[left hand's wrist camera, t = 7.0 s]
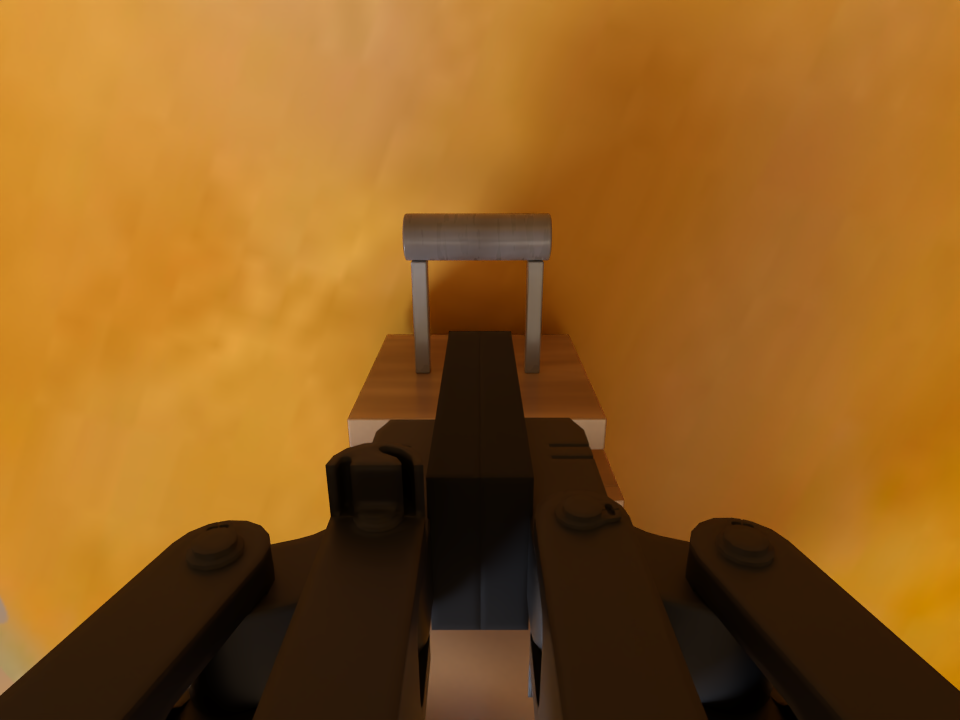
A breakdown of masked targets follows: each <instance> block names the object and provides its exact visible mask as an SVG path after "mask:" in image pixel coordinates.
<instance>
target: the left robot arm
mask: <svg viewBox="0 0 960 720" xmlns="http://www.w3.org/2000/svg"><path fill="white" fill-rule="evenodd" d="M326 475H327V484H328V494H329V503H330V513H331V518H330V520H329V523H328V526H327V528H326V529H325V530H323V531H321V532H318V533H316V534H314V535H310V536H307V537H303V538H300V539H295V540H291V541H286V542H281V543H276V544H270V537H269V534H268V533H267V532H266V531H265V529H264V528H263V527H262V526H260V525H258V524H255V523H252V522H249V521H233V520H228V521H222V522H216V523H212V524H208V525H206V526H203V527H201V528H198V529H196V530H193V531H191V532H189V533H187V534H186V535H184V536H183V537H181V538H180V539H178V540H177V541H175V542H174V543H172V544H171V545H170V546H169V547H168V548H167V549H166V550H164V551H163V552H162V553H161V554H160V555H159V556H158V557H157V558H155V559H154V560H153V561H152V562H151V563H150V564H149V565H147V566H146V567H145V568H144V569H143V570H142V571H141V572H140V573H138V574H137V575H136V576H135V577H134V578H133V579H132V580H131V581H129V582H128V583H127V584H126V585H125V586H124V587H123V588H121V589H120V590H119V591H118V592H117V593H116V594H115V595H114V596H112V597H111V598H110V599H109V600H108V601H107V602H106V603H105V604H103V605H102V606H101V607H100V608H99V609H98V610H97V611H95V612H94V613H93V614H92V615H91V616H90V617H89V618H88V619H86V620H85V621H84V622H83V623H82V624H81V625H80V626H79V627H77V628H76V629H75V630H74V631H73V632H72V633H71V634H69V635H68V636H67V637H66V638H65V639H64V640H63V641H62V642H60V643H59V644H58V645H57V646H56V647H55V648H54V649H53V650H51V651H50V652H49V653H48V654H47V655H46V656H45V657H43V658H42V659H41V660H40V661H39V662H38V663H37V664H36V665H34V666H33V667H32V668H31V669H30V670H29V671H28V672H27V673H25V674H24V675H23V676H22V677H21V678H20V679H19V680H17V681H16V682H15V683H14V684H13V685H12V686H11V687H10V688H8V689H7V690H6V691H5V692H4V693H3V694H2V695H1V696H0V720H425V717H426V706H427V695H428V684H429V673H430V662H431V653H430V625H431V627H432V630H528V627H529V622H530V653H529V679H528V697H533V705H534V716H535V720H960V691H959V690H958V689H957V688H956V687H954V686H953V685H952V684H951V683H950V682H949V681H948V680H946V679H945V678H944V677H943V676H942V675H941V674H940V673H938V672H937V671H936V670H935V669H934V668H933V667H932V666H930V665H929V664H928V663H927V662H926V661H925V660H924V659H923V658H921V657H920V656H919V655H918V654H917V653H916V652H915V651H913V650H912V649H911V648H910V647H909V646H908V645H907V644H905V643H904V642H903V641H902V640H901V639H900V638H899V637H897V636H896V635H895V634H894V633H893V632H892V631H891V630H889V629H888V628H887V627H886V626H885V625H884V624H883V623H881V622H880V621H879V620H878V619H877V618H876V617H875V616H873V615H872V614H871V613H870V612H869V611H868V610H867V609H866V608H864V607H863V606H862V605H861V604H860V603H859V602H858V601H856V600H855V599H854V598H853V597H852V596H851V595H850V594H848V593H847V592H846V591H845V590H844V589H843V588H842V587H840V586H839V585H838V584H837V583H836V582H835V581H834V580H832V579H831V578H830V577H829V576H828V575H827V574H826V573H824V572H823V571H822V570H821V569H820V568H819V567H818V566H817V565H815V564H814V563H813V562H812V561H811V560H810V559H809V558H807V557H806V556H805V555H804V554H803V553H802V552H801V551H799V550H798V549H797V548H796V547H795V546H794V545H793V544H791V543H790V542H789V541H788V540H786V539H785V538H784V537H782V536H781V535H779V534H778V533H776V532H775V531H773V530H772V529H769V528H767V527H764V526H762V525H759V524H757V523H754V522H751V521H747V520H741V519H736V518H713V519H710V520H707V521H704V522H701V523H699V524H698V525H697V526H696V527H695V528H694V529H693V530H692V531H691V537H690V542H686V541H682V540H677V539H672V538H667V537H662V536H659V535H655V534H651V533H648V532H645V531H643V530H641V529H638V528H636V527H634V526H633V525H632V522H631V520H630V517H629V515H628V514H627V512H626V511H625V510H624V508H623V507H622V505H620V504H619V503H617V502H615V501H614V500H612V499H611V498H609V497H608V496H607V493H606V490H605V487H604V484H603V482H602V479H601V476H600V473H599V470H598V468H597V465H596V462H595V459H593V453H592V451H591V448H590V447H589V442H588V439H587V436H586V434H585V431H584V429H583V428H581V427H580V426H579V425H578V424H577V423H575V422H574V421H573V420H572V419H570V418H525V417H524V411H523V404H522V398H521V392H520V385H519V379H518V373H517V367H516V360H515V354H514V348H513V341H512V335H511V331H449V335H448V341H447V348H446V354H445V360H444V367H443V373H442V379H441V385H440V392H439V398H438V404H437V411H436V417H435V419H391V420H390V421H388V422H387V423H386V424H385V425H384V426H382V427H381V428H380V429H379V430H377V431H376V433H375V436H374V439H373V442H372V443H363V444H360V445H356V446H353V447H350V448H347V449H345V450H343V451H341V452H339V453H338V454H336V455H334V456H333V457H332V458H331V459H330V461H329V462H328V463H327V464H326Z"/></svg>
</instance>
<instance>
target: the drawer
mask: <svg viewBox="0 0 960 720" xmlns="http://www.w3.org/2000/svg"><path fill="white" fill-rule="evenodd" d="M551 245H552V222H551V216H550V214H405V215H404V219H403V250H404V256H405V259H406V260H412V262H411V273H412V297H413V322H414V335H387V336H386V339H385V341H384V343H383V345H382V347H381V349H380V351H379V353H378V356H377V358H376V360H375V362H374V364H373V366H372V368H371V370H370V373H369V375H368V377H367V379H366V381H365V383H364V385H363V388H362V390H361V392H360V394H359V396H358V398H357V400H356V402H355V405H354V407H353V409H352V411H351V413H350V415H349V417H348V431H349V443H350V447H353V446H356V445H360V444H363V443H372V442H373V439H374V436H375V433H376V431H377V430H379V429H380V428H381V427H382V426H384V425H385V424H386V423H387V422H388V421H390V420H391V419H435V417H436V411H437V404H438V398H439V392H440V385H441V379H442V373H443V367H444V360H445V354H446V348H447V341H448V335H430V310H429V278H428V260H527V273H526V309H525V335H512V341H513V348H514V354H515V360H516V367H517V373H518V379H519V385H520V392H521V398H522V404H523V411H524V417H525V418H570V419H572V420H573V421H574V422H575V423H577V424H578V425H579V426H580V427H581V428H583V429H584V431H585V434H586V436H587V439H588V442H589V447H590V448H591V449H604V446H605V434H606V422H607V419H606V417H605V415H604V412H603V410H602V408H601V406H600V404H599V401H598V399H597V397H596V395H595V392H594V390H593V388H592V386H591V383H590V381H589V379H588V377H587V375H586V372H585V370H584V368H583V366H582V363H581V361H580V359H579V357H578V354H577V352H576V350H575V348H574V346H573V343H572V341H571V339H570V337H569V335H541V322H542V295H543V269H544V262H543V260H549V258H550V254H551Z"/></svg>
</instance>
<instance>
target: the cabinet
mask: <svg viewBox="0 0 960 720" xmlns="http://www.w3.org/2000/svg"><path fill="white" fill-rule="evenodd" d="M591 451H592V453H593V459H595V462H596V465H597V468H598V470H599V473H600V476H601V479H602V482H603V484H604V487H605V490H606V493H607V496H608V497H609V498H611V499H612V500H614V501H615V502H617V503H619V504H620V505H622V507H623V508H624V499H623V496H622V494H621V491H620V489H619V487H618V485H617V482H616V480H615V477H614V475H613V472H612V469H611V467H610V464H609V462H608V459H607V457H606V454H605V452H604V449H591ZM430 653H431V662H430V673H429V684H428V695H427V706H426V717H425V720H535V716H534V705H533V697H528V679H529V653H530V622H529V627H528V630H432V627H431V625H430Z"/></svg>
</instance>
